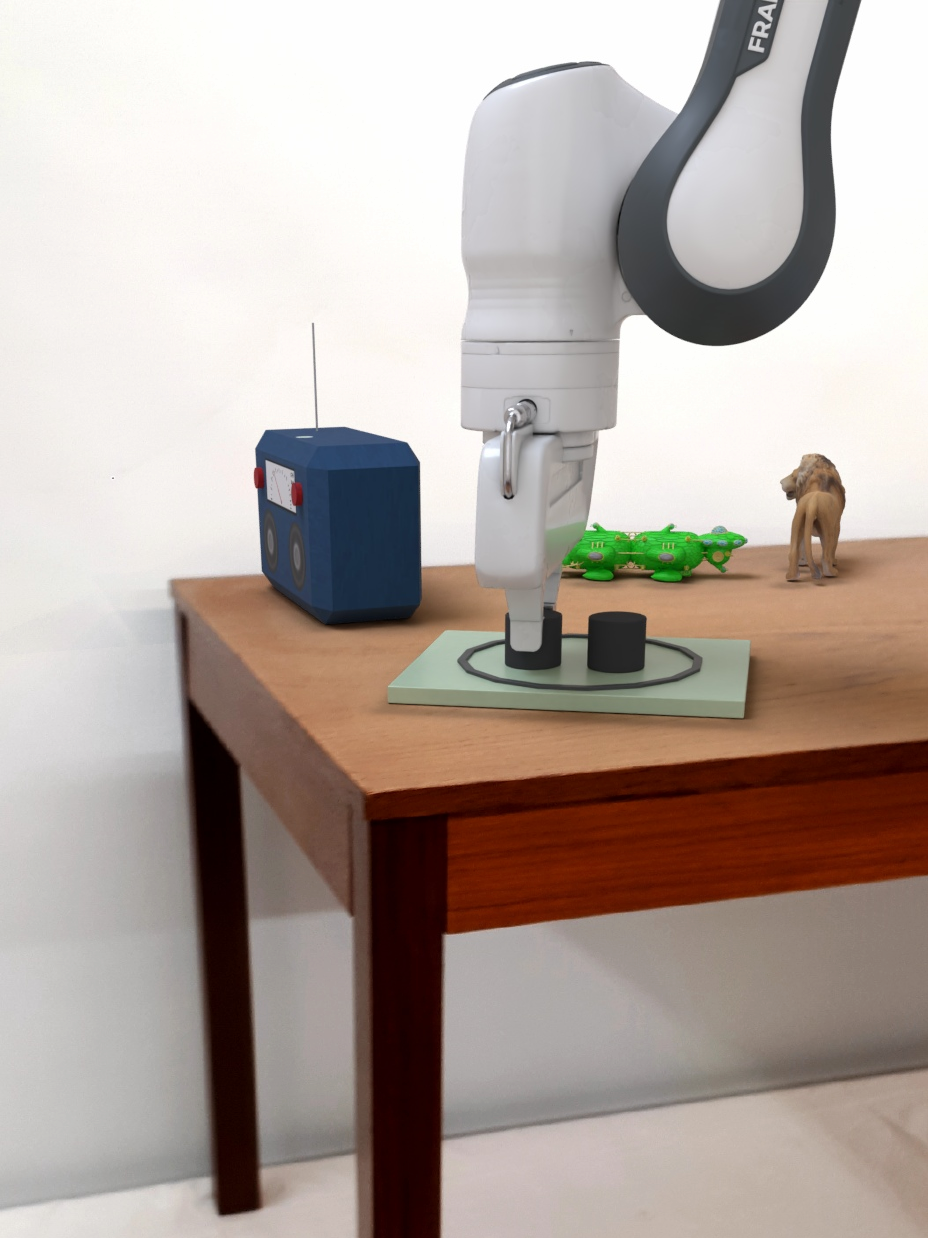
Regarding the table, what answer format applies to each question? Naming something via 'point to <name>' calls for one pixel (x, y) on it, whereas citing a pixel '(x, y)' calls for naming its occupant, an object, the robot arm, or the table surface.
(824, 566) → the lion figurine
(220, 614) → the table surface
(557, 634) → the eye dot
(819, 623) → the table surface
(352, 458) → the radio
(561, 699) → the board
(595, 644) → the eye dot
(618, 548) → the green toy spaceship
